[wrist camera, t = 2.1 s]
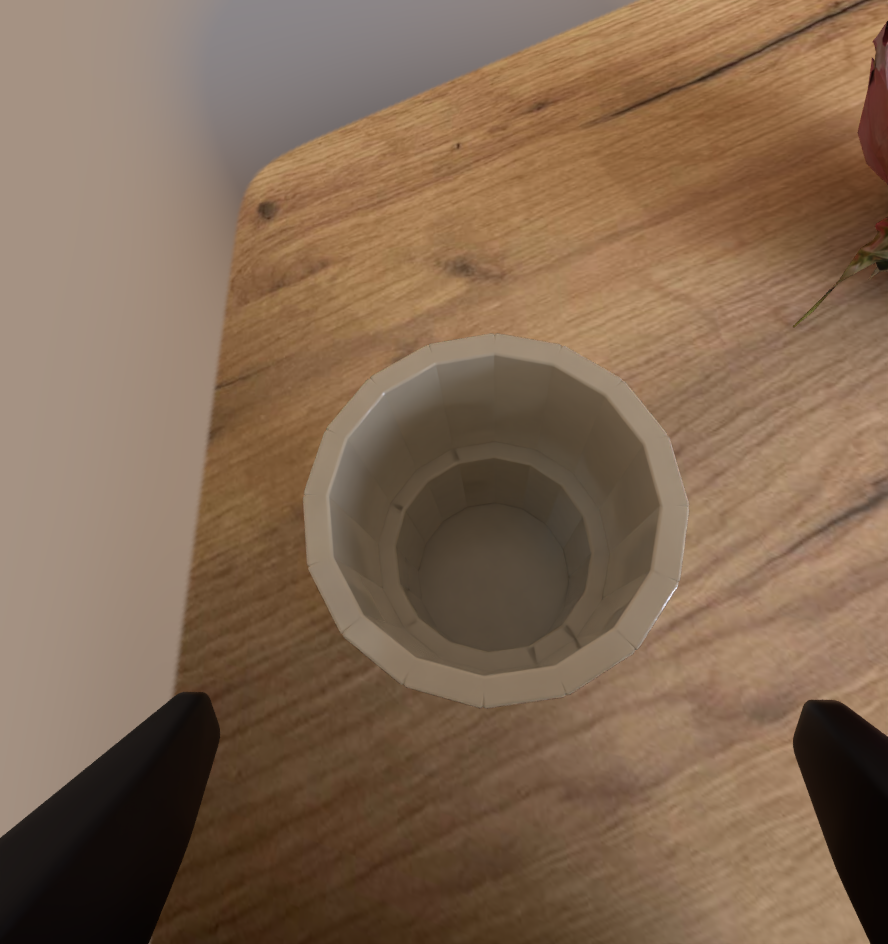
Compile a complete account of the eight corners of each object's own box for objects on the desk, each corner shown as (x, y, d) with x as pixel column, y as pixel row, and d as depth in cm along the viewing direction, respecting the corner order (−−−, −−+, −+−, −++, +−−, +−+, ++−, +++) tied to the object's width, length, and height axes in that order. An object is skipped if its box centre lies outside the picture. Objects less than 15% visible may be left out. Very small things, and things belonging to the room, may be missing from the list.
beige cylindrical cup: (518, 728, 18) (542, 803, 9) (356, 598, 20) (228, 542, 10) (631, 556, 19) (760, 456, 10) (471, 450, 21) (451, 278, 12)
